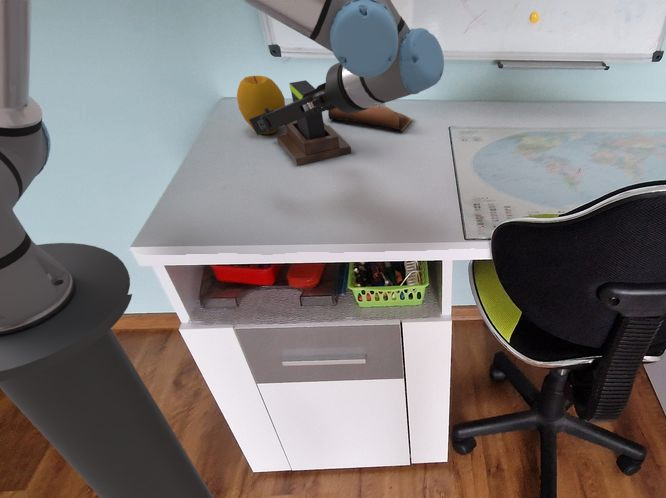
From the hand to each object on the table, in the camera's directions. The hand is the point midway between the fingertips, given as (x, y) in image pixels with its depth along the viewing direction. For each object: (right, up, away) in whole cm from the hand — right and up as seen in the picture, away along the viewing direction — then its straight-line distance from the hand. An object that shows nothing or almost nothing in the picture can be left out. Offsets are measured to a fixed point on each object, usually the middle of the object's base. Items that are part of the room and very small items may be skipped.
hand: (283, 113), depth 98 cm
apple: (-11, +6, +24) cm, 27 cm away
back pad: (+1, +2, +17) cm, 17 cm away
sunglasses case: (+11, +11, +29) cm, 33 cm away
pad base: (0, +1, +18) cm, 18 cm away
